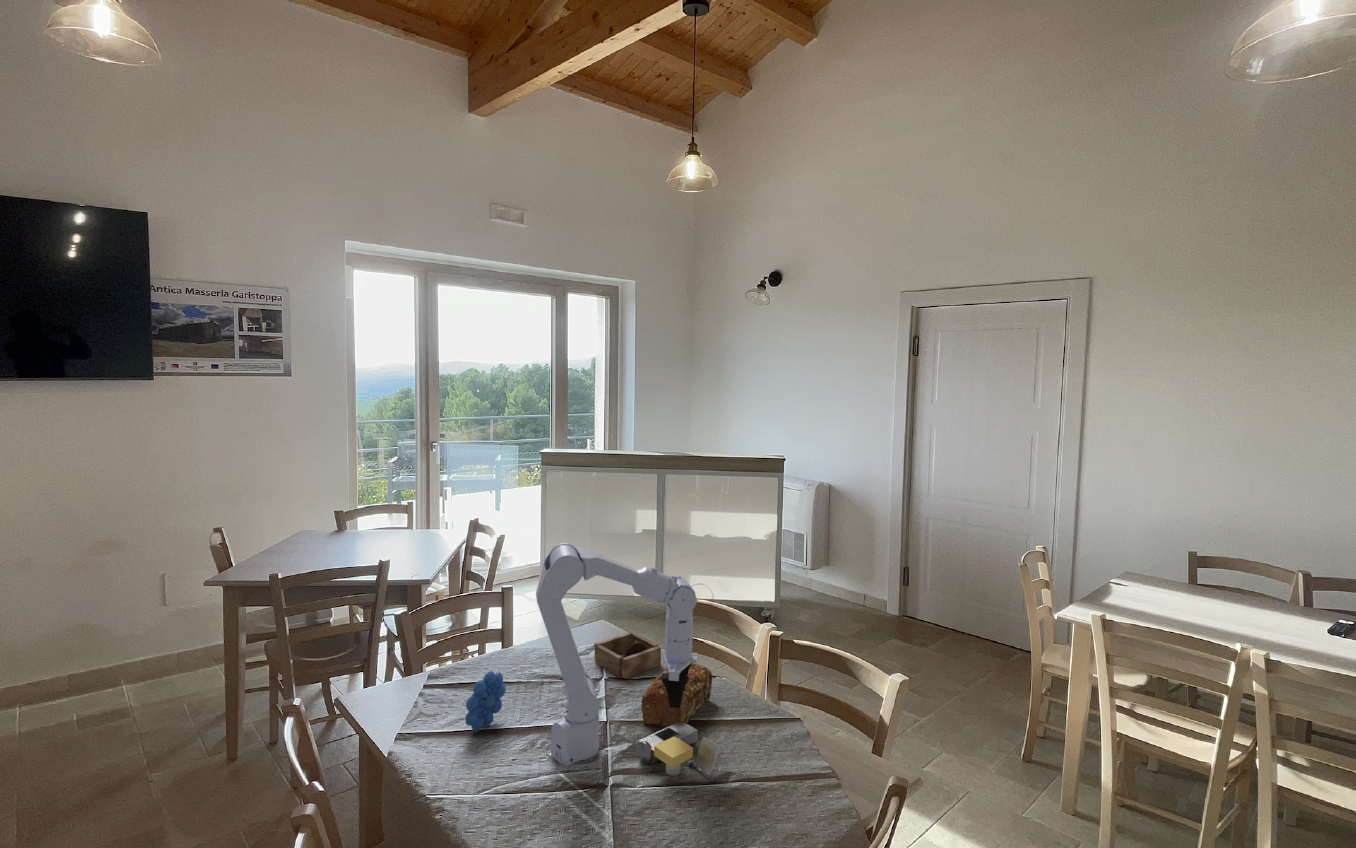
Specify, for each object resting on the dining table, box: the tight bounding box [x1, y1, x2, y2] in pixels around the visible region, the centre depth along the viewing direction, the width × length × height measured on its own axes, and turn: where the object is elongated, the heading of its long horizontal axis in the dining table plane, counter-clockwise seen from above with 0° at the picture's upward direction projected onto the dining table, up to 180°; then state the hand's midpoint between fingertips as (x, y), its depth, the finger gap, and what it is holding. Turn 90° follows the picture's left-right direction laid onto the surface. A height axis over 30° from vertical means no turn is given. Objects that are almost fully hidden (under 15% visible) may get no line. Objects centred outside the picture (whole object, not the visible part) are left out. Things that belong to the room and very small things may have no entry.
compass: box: [620, 641, 646, 658], centre depth 185 cm, size 8×8×7 cm
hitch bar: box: [636, 721, 718, 783], centre depth 138 cm, size 13×16×5 cm
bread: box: [640, 663, 713, 728], centre depth 160 cm, size 19×11×10 cm, turn 155°
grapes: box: [464, 670, 507, 732], centre depth 153 cm, size 12×7×12 cm, turn 152°
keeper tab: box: [689, 736, 721, 781], centre depth 136 cm, size 6×6×1 cm
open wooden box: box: [594, 632, 662, 679], centre depth 186 cm, size 13×13×5 cm
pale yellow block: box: [654, 736, 694, 777], centre depth 135 cm, size 5×5×6 cm
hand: (677, 698), depth 147 cm, fingers open, 7 cm apart
